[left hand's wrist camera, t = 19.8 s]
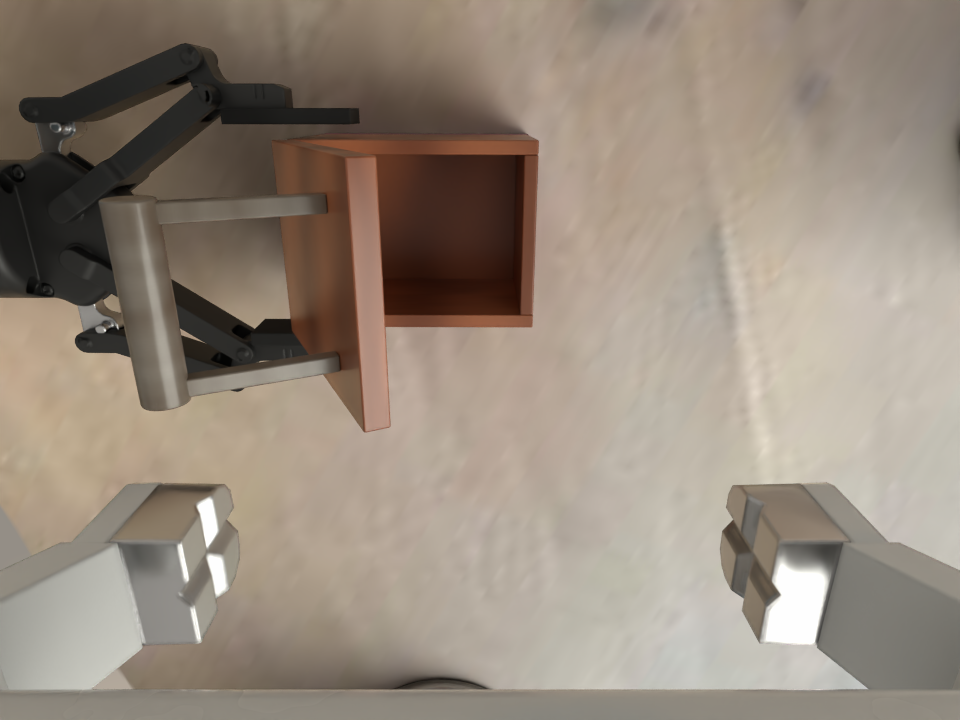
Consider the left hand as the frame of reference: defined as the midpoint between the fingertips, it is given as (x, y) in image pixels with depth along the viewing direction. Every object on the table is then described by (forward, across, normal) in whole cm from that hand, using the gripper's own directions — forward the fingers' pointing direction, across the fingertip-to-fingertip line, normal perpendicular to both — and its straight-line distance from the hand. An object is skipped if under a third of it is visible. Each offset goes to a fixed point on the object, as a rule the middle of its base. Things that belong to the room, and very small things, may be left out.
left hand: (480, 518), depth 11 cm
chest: (+34, -3, 0) cm, 34 cm away
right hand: (+27, -7, 0) cm, 28 cm away
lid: (+19, -6, 0) cm, 20 cm away
